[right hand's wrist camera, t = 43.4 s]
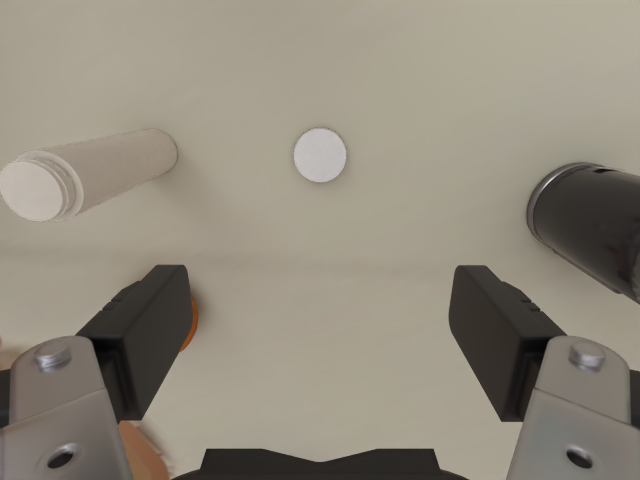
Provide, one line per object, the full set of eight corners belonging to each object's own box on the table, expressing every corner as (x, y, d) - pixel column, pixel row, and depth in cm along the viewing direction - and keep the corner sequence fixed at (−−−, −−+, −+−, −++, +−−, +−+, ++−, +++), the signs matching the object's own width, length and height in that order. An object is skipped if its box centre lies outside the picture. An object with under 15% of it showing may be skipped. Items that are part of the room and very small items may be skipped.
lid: (295, 124, 37) (294, 125, 35) (349, 129, 37) (350, 130, 35) (292, 177, 39) (291, 180, 37) (343, 182, 39) (344, 185, 37)
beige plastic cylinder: (179, 134, 37) (69, 163, 21) (175, 177, 39) (70, 235, 22) (134, 124, 37) (-14, 145, 20) (132, 168, 38) (-7, 220, 22)
